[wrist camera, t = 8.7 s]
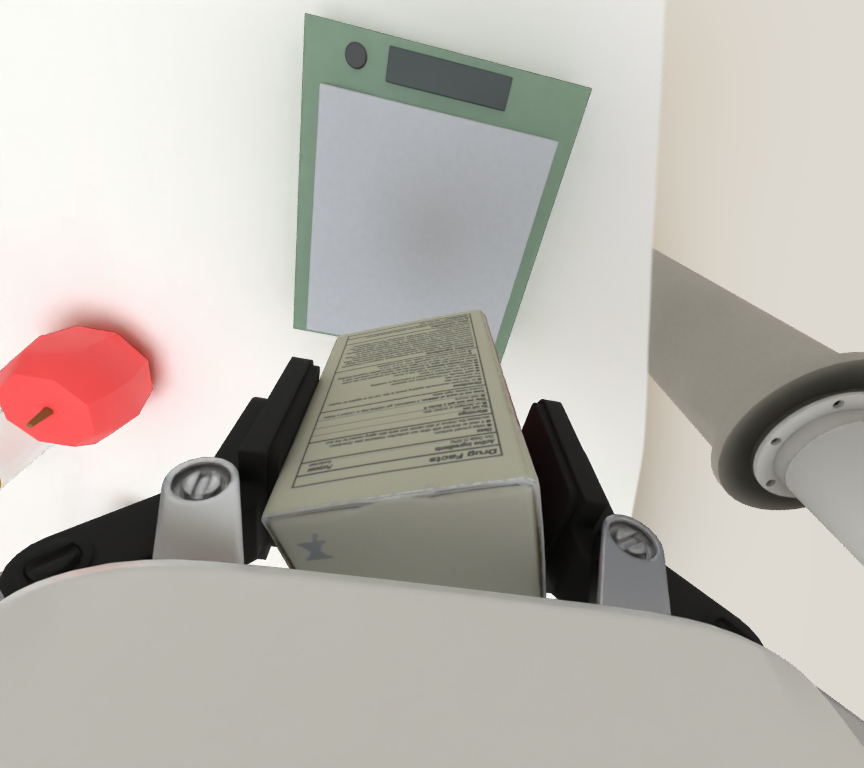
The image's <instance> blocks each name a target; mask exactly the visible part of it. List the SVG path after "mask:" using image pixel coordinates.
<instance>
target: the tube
mask: <svg viewBox="0 0 864 768" xmlns="http://www.w3.org/2000/svg"><path fill="white" fill-rule="evenodd" d="M52 445H53V443H46V442H39V441H38V440H36V439H35V438H33V437H32V436H30V435H29V434H27V433H26V432H24V431H23V430H21V429H20V428H19V427H17V426H16V425H14V424H13V423H11V422H10V421H8V420H7V419H6V417H5V415H4V412H3V411H1V412H0V489H1V488H3V487H4V486H5V485H6V484H7V483H8V482H10V481H11V480H12V479H13V478H14V477H15V476H17V475H18V474H19V473H20V472H21V471H22V470H24V469H25V468H26V467H27V466H28V465H29V464H31V463H32V462H33V461H34V460H35V459H37V458H38V457H39V456H40V455H41V454H42V453H44V452H45V451H46V450H47V449H48V448H49V447H51V446H52Z"/></svg>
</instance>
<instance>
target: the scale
mask: <svg viewBox="0 0 864 768" xmlns="http://www.w3.org/2000/svg"><path fill="white" fill-rule="evenodd" d="M591 90H592V89H591V88H589V87H585V86H581V85H577V84H574V83H570V82H566V81H562V80H558V79H555V78H551V77H547V76H543V75H539V74H536V73H532V72H528V71H524V70H520V69H517V68H513V67H509V66H505V65H501V64H498V63H494V62H490V61H486V60H482V59H479V58H475V57H471V56H467V55H463V54H460V53H456V52H452V51H448V50H444V49H441V48H437V47H433V46H429V45H425V44H422V43H418V42H414V41H410V40H406V39H403V38H399V37H395V36H391V35H387V34H384V33H380V32H376V31H372V30H368V29H365V28H361V27H357V26H353V25H349V24H345V23H342V22H338V21H334V20H330V19H326V18H323V17H319V16H315V15H311V14H307V13H305V24H304V52H303V79H302V106H301V134H300V161H299V188H298V216H297V243H296V270H295V297H294V325H293V328H295V329H300V330H306V331H311V332H317V333H322V334H328V335H333V336H341V335H345V334H349V333H355V332H360V331H365V330H369V329H374V328H379V327H384V326H390V325H395V324H400V323H405V322H410V321H415V320H421V319H426V318H431V317H437V316H442V315H448V314H454V313H460V312H466V311H472V310H481V311H482V312H483V313H484V314H485V316H486V319H487V323H488V326H489V329H490V332H491V335H492V338H493V342H494V345H495V348H496V351H497V354H498V358H499V361H500V363H501V360H502V357H503V354H504V351H505V348H506V345H507V342H508V339H509V336H510V333H511V330H512V327H513V324H514V321H515V318H516V315H517V312H518V309H519V306H520V303H521V300H522V297H523V294H524V291H525V288H526V285H527V282H528V279H529V276H530V273H531V270H532V267H533V264H534V261H535V258H536V255H537V252H538V249H539V246H540V243H541V240H542V237H543V234H544V231H545V228H546V225H547V222H548V219H549V216H550V213H551V210H552V207H553V204H554V201H555V198H556V195H557V192H558V189H559V186H560V183H561V180H562V177H563V174H564V171H565V168H566V165H567V162H568V159H569V156H570V153H571V150H572V147H573V144H574V141H575V138H576V135H577V132H578V129H579V126H580V123H581V120H582V117H583V114H584V111H585V108H586V105H587V102H588V99H589V96H590V93H591Z"/></svg>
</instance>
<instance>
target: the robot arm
mask: <svg viewBox="0 0 864 768" xmlns="http://www.w3.org/2000/svg"><path fill="white" fill-rule="evenodd" d="M319 374H320V367H319V366H314V365H313V360H309V359H303V358H297V357H292V358H291V360H290V361H289V363H288V365H287V366H286V368H285V370H284V372H283V373H282V375H281V377H280V379H279V380H278V382H277V384H276V385H275V387H274V389H273V391H272V392H271V394H270V396H269V397H268V399H265V398H259V397H254V398H252V400H251V401H250V402H249V404H248V405H247V407H246V408H245V410H244V412H243V413H242V415H241V416H240V418H239V419H238V421H237V422H236V424H235V426H234V427H233V429H232V430H231V432H230V433H229V435H228V437H227V438H226V440H225V441H224V443H223V444H222V446H221V447H220V449H219V451H218V452H217V454H216V455H215V457H201V458H196V459H191V460H189V461H186V462H184V463H181V464H180V465H178V466H177V467H175V468H174V469H172V470H171V471H170V472H169V473H168V474H167V476H166V477H165V479H164V481H163V484H162V489H161V494H158V495H155V496H153V497H150V498H148V499H145V500H142V501H140V502H137V503H135V504H132V505H129V506H127V507H124V508H122V509H119V510H116V511H114V512H111V513H109V514H106V515H103V516H101V517H98V518H96V519H93V520H90V521H88V522H85V523H83V524H80V525H77V526H75V527H72V528H70V529H67V530H64V531H62V532H59V533H57V534H54V535H51V536H49V537H46V538H44V539H42V540H40V541H38V542H36V543H34V544H31V545H30V546H28V547H27V548H25V549H24V550H23V551H21V552H20V553H18V554H17V555H16V556H15V557H14V558H13V559H12V560H11V561H10V562H9V563H8V564H7V565H6V567H5V569H4V571H3V572H0V768H864V721H863V720H861V719H860V718H859V717H857V716H856V715H855V714H853V713H852V712H850V711H849V710H848V709H846V708H845V707H844V706H842V705H841V704H840V703H838V702H837V701H836V700H834V699H833V698H831V697H830V696H829V695H827V694H826V693H825V692H823V691H822V690H821V689H819V688H818V687H817V686H815V685H814V684H813V683H812V682H811V681H810V680H809V679H808V678H807V677H806V676H805V675H804V674H803V673H802V672H801V671H799V670H798V669H797V668H796V667H794V666H793V665H792V664H791V663H789V662H788V661H786V660H785V659H783V658H782V657H780V656H779V655H777V654H776V653H774V652H772V651H770V650H769V649H767V648H765V647H764V646H763V644H762V643H761V641H760V640H759V638H758V637H757V636H756V635H755V633H754V632H753V631H752V630H751V629H750V628H749V627H748V626H747V625H746V624H745V623H743V622H742V621H741V620H740V619H739V618H737V617H736V616H734V615H733V614H732V613H730V612H729V611H728V610H726V609H725V608H723V607H722V606H721V605H719V604H718V603H717V602H715V601H714V600H713V599H711V598H710V597H708V596H707V595H706V594H704V593H703V592H701V591H700V590H699V589H697V588H696V587H694V586H693V585H692V584H690V583H689V582H688V581H686V580H685V579H684V578H682V577H681V576H679V575H678V574H677V573H675V572H674V571H673V570H671V569H670V568H668V567H667V566H666V565H665V557H664V550H663V547H662V544H661V542H660V541H659V539H658V538H657V536H656V535H655V534H654V533H653V532H652V531H651V530H650V529H649V528H648V527H646V526H645V525H643V524H642V523H641V522H639V521H637V520H635V519H634V518H631V517H628V516H625V515H618V514H614V513H613V511H612V508H611V506H610V504H609V502H608V500H607V498H606V496H605V494H604V491H603V489H602V487H601V485H600V483H599V481H598V479H597V477H596V474H595V472H594V470H593V468H592V466H591V464H590V462H589V459H588V457H587V455H586V453H585V452H584V450H583V448H582V446H581V444H580V442H579V440H578V438H577V436H576V434H575V431H574V429H573V427H572V425H571V423H570V421H569V419H568V416H567V414H566V412H565V410H564V408H563V406H562V404H561V403H560V402H556V401H550V400H544V399H541V400H540V401H539V402H538V403H533V404H532V406H531V408H530V411H529V413H528V416H527V418H526V421H525V424H524V426H523V429H522V434H523V437H524V440H525V443H526V446H527V449H528V451H529V454H530V457H531V460H532V463H533V466H534V469H535V472H536V475H537V477H538V480H539V485H540V494H541V507H542V517H543V530H544V550H545V570H546V571H545V574H546V593H552V594H553V595H554V596H555V597H556V598H557V599H549V598H541V597H533V596H524V595H516V594H508V593H500V592H491V591H482V590H474V589H465V588H457V587H448V586H439V585H431V584H422V583H413V582H405V581H396V580H387V579H378V578H369V577H360V576H351V575H342V574H333V573H324V572H315V571H306V570H297V569H287V568H278V567H267V566H257V565H247V564H249V563H251V562H253V561H254V560H256V559H264V560H266V558H267V555H268V553H269V550H270V547H271V546H274V547H277V546H276V544H275V542H274V540H273V539H272V537H271V535H270V534H269V532H268V530H267V529H266V528H265V526H264V525H263V523H262V521H261V519H262V515H263V512H264V510H265V507H266V505H267V503H268V500H269V498H270V496H271V493H272V491H273V489H274V486H275V484H276V481H277V479H278V477H279V474H280V472H281V469H282V467H283V465H284V462H285V460H286V458H287V455H288V453H289V450H290V448H291V446H292V444H293V441H294V439H295V436H296V434H297V432H298V429H299V427H300V424H301V422H302V420H303V417H304V415H305V413H306V410H307V408H308V406H309V403H310V401H311V398H312V396H313V394H314V392H315V389H316V387H317V384H318V382H319ZM750 468H751V473H752V474H753V476H754V478H755V479H756V480H757V481H758V483H759V484H760V485H761V486H762V487H763V488H764V489H766V490H767V491H769V492H771V493H773V494H776V495H779V496H783V497H790V498H798V499H799V500H800V501H801V502H802V503H803V504H804V505H805V506H806V508H808V509H809V510H810V512H811V513H812V514H813V515H814V516H815V517H816V518H817V519H818V520H819V521H820V522H821V523H822V524H823V525H824V526H825V527H826V528H827V529H828V530H829V531H830V532H831V533H832V534H833V535H834V536H835V537H836V538H837V539H838V540H839V541H840V542H841V543H842V544H843V545H844V546H845V547H846V548H847V549H848V551H850V553H851V554H852V555H853V556H854V557H856V559H857V560H858V561H859V562H860V563H861V564H862V565H863V566H864V389H845V390H838V391H833V392H829V393H826V394H822V395H819V396H816V397H814V398H811V399H809V400H806V401H804V402H802V403H800V404H798V405H797V406H795V407H793V408H791V409H790V410H788V411H787V412H785V413H784V414H782V415H781V416H780V417H778V418H777V419H776V420H775V421H774V422H773V423H772V424H770V425H769V426H768V427H767V429H766V430H765V431H764V432H763V433H762V434H761V436H760V437H759V439H758V440H757V442H756V444H755V445H754V448H753V451H752V453H751V457H750Z"/></svg>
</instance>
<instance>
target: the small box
mask: <svg viewBox="0 0 864 768" xmlns="http://www.w3.org/2000/svg"><path fill="white" fill-rule="evenodd" d="M261 521H262V523H263V525H264V526H265V528H266V529H267V530H268V532H269V534H270V535H271V537H272V539H273V540H274V542H275V544H276V546H277V547H278V550H279V551H280V553H281V555H282V557H283V558H284V560H285V561H286V564H287V565H288V567H289V568H290V569H297V570H306V571H315V572H324V573H333V574H342V575H351V576H360V577H369V578H378V579H387V580H396V581H405V582H413V583H422V584H431V585H439V586H448V587H457V588H465V589H474V590H482V591H491V592H500V593H508V594H516V595H524V596H533V597H541V598H546V574H545V571H546V570H545V550H544V530H543V517H542V507H541V494H540V485H539V480H538V477H537V475H536V472H535V469H534V466H533V463H532V460H531V457H530V454H529V451H528V449H527V446H526V443H525V440H524V437H523V434H522V431H521V428H520V424H519V421H518V419H517V415H516V412H515V409H514V406H513V403H512V400H511V396H510V393H509V391H508V388H507V384H506V381H505V378H504V375H503V372H502V369H501V365H500V361H499V358H498V354H497V351H496V348H495V345H494V342H493V338H492V335H491V332H490V329H489V326H488V323H487V319H486V316H485V314H484V313H483V312H482V311H481V310H472V311H466V312H460V313H454V314H448V315H442V316H437V317H431V318H426V319H421V320H415V321H410V322H405V323H400V324H395V325H390V326H384V327H379V328H374V329H369V330H365V331H360V332H355V333H349V334H345V335H341V336H339V337H338V338H337V340H336V343H335V345H334V347H333V349H332V352H331V354H330V356H329V359H328V361H327V364H326V366H325V368H324V371H323V373H322V375H321V377H320V380H319V382H318V384H317V387H316V389H315V392H314V394H313V396H312V398H311V401H310V403H309V406H308V408H307V410H306V413H305V415H304V417H303V420H302V422H301V424H300V427H299V429H298V432H297V434H296V436H295V439H294V441H293V444H292V446H291V448H290V450H289V453H288V455H287V458H286V460H285V462H284V465H283V467H282V469H281V472H280V474H279V477H278V479H277V481H276V484H275V486H274V489H273V491H272V493H271V496H270V498H269V500H268V503H267V505H266V507H265V510H264V512H263V515H262V519H261Z"/></svg>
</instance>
